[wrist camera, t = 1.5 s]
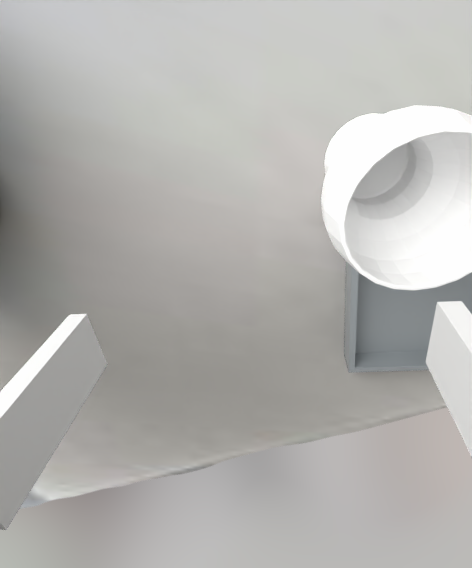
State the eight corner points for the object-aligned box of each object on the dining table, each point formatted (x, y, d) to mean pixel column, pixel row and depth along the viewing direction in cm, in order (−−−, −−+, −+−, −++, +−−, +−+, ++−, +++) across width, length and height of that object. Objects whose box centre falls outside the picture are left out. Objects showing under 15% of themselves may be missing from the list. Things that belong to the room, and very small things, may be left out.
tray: (344, 354, 44) (348, 372, 42) (346, 243, 37) (351, 257, 34) (476, 349, 42) (490, 367, 39) (509, 229, 34) (528, 242, 32)
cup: (308, 100, 30) (333, 124, 17) (440, 87, 29) (572, 101, 16) (307, 218, 36) (326, 301, 23) (418, 211, 34) (504, 296, 22)
